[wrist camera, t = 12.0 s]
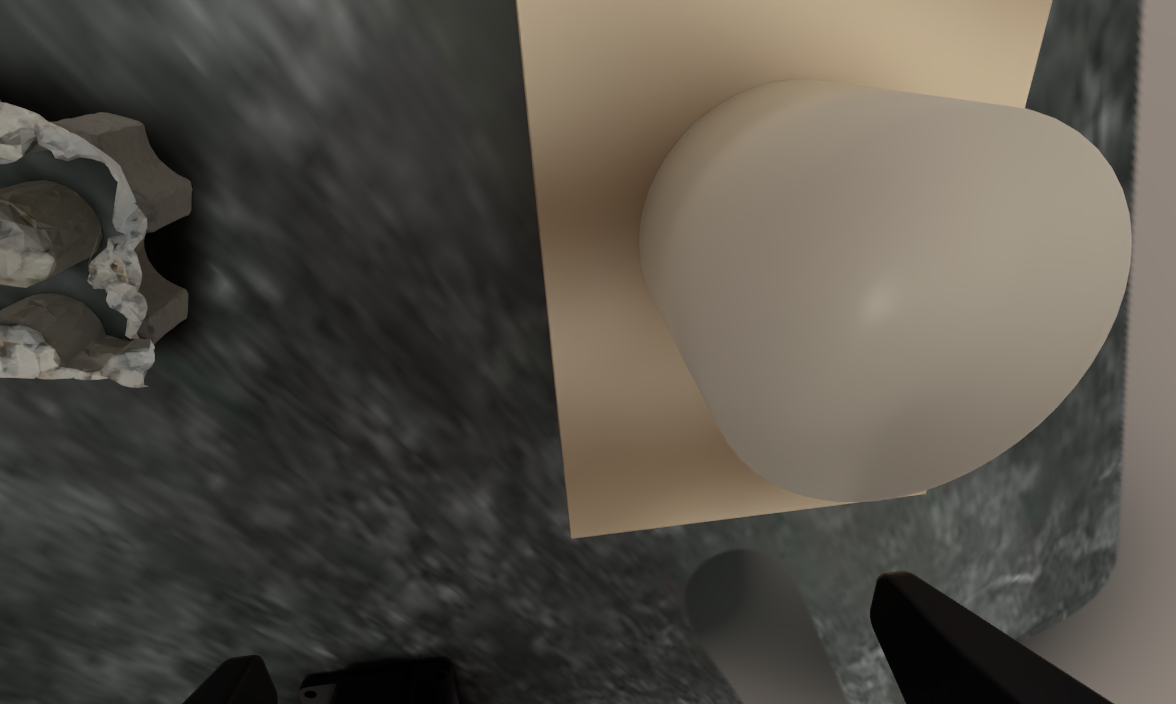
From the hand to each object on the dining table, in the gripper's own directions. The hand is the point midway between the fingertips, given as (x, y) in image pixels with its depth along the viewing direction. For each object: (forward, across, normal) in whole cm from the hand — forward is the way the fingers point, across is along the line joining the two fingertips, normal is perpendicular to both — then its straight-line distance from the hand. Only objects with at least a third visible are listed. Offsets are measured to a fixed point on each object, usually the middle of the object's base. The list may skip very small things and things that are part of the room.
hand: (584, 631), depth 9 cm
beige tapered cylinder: (+6, -5, -4) cm, 9 cm away
